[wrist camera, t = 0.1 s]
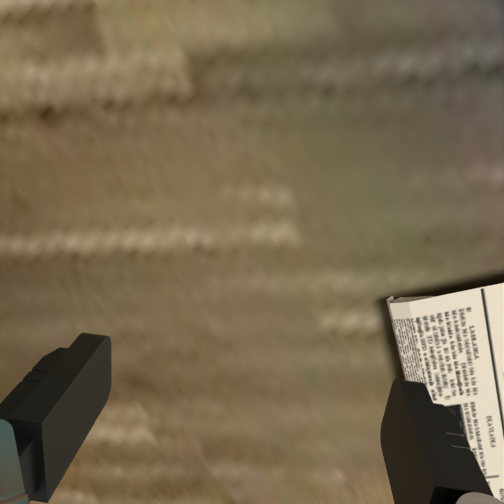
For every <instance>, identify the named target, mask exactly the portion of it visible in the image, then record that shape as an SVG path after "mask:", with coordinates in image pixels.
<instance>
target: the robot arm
mask: <svg viewBox="0 0 504 504" xmlns="http://www.w3.org/2000/svg"><path fill="white" fill-rule="evenodd" d="M110 389H111V339H110V337H109V336H103V335H96V334H89V333H81V334H80V335H79V336H78V337H77V339H76V340H75V341H74V342H73V343H72V344H71V346H70V347H69V348H68V349H67V348H58V349H56V350H55V351H53V352H51V353H49V354H47V355H46V356H44V357H43V358H42V359H41V360H40V361H39V362H38V363H37V364H36V365H35V366H34V367H33V369H32V371H31V372H29V373H28V374H27V375H26V376H25V377H24V378H23V381H22V382H20V383H19V384H18V385H17V386H16V387H15V388H14V389H13V391H12V392H11V393H10V394H9V395H8V396H7V397H6V398H5V399H4V400H3V402H2V403H1V404H0V504H29V502H30V501H31V500H33V501H39V502H45V503H48V501H49V499H50V498H51V496H52V494H53V493H54V491H55V489H56V488H57V486H58V484H59V482H60V481H61V479H62V477H63V476H64V474H65V472H66V470H67V469H68V467H69V465H70V464H71V462H72V460H73V459H74V457H75V455H76V453H77V452H78V450H79V448H80V447H81V445H82V443H83V441H84V440H85V438H86V436H87V435H88V433H89V431H90V430H91V428H92V426H93V424H94V423H95V421H96V419H97V418H98V416H99V414H100V413H101V411H102V409H103V407H104V406H105V404H106V402H107V399H108V396H109V393H110ZM381 447H382V452H383V456H384V460H385V464H386V469H387V473H388V477H389V481H390V486H391V490H392V494H393V499H394V503H395V504H504V502H502V501H500V500H499V499H497V498H495V497H494V495H493V493H492V491H491V489H490V487H489V485H488V483H487V481H486V479H485V476H484V474H483V472H482V470H481V468H480V466H479V464H478V462H477V460H476V458H475V455H474V453H473V451H471V447H470V445H469V443H468V441H467V439H466V438H465V437H464V432H463V430H462V428H461V426H460V424H459V422H458V420H457V418H456V417H455V416H454V415H453V414H452V413H451V412H450V411H449V410H448V409H447V408H446V407H445V406H444V405H443V404H437V403H433V401H432V399H431V397H430V394H429V392H428V390H427V387H426V385H425V384H424V383H422V382H416V381H409V380H402V379H395V380H394V381H393V384H392V387H391V390H390V394H389V398H388V402H387V405H386V409H385V413H384V417H383V420H382V425H381Z"/></svg>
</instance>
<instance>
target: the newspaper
mask: <svg viewBox="0 0 504 504" xmlns="http://www.w3.org/2000/svg"><path fill="white" fill-rule="evenodd" d="M386 300H387V304H388V309H389V313H390V317H391V322H392V326H393V330H394V335H395V339H396V343H397V348H398V352H399V356H400V361H401V365H402V369H403V374H404V378H405V380H409V381H416V382H422V383H424V384H425V385H426V387H427V390H428V392H429V394H430V397H431V399H432V401H433V403H437V404H443V405H444V406H445V407H446V408H447V409H448V410H449V411H450V412H451V413H452V414H453V415H454V416H455V417H456V418H457V420H458V422H459V424H460V426H461V428H462V430H463V432H464V437H465V438H466V439H467V441H468V443H469V445H470V447H471V451H473V453H474V455H475V458H476V460H477V462H478V464H479V466H480V468H481V470H482V472H483V474H484V476H485V479H486V481H487V483H488V485H489V487H490V489H491V491H492V493H493V495H494V497H495V498H497V499H499V500H500V501H502V502H504V283H500V284H495V285H490V286H485V287H480V288H475V289H470V290H465V291H460V292H455V293H450V294H445V295H440V296H435V297H433V296H421V297H400V298H398V299H396V300H394V298H393V295H392V296H391V297H389V298H388V299H386Z"/></svg>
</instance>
